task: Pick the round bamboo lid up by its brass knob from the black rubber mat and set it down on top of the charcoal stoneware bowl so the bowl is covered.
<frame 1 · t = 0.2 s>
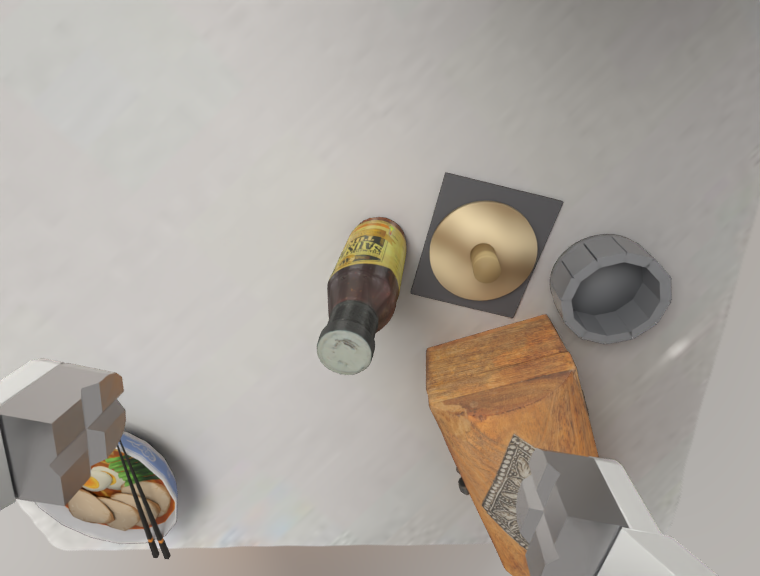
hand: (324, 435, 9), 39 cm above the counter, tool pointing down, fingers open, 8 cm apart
wooden box: (514, 417, 59), on the counter
bowl: (598, 277, 48), on the counter
lid: (481, 250, 47), resting on mat
ramen bowl: (129, 451, 69), on the counter
mat: (481, 249, 48), on the counter
sauce bottle: (377, 241, 49), on the counter
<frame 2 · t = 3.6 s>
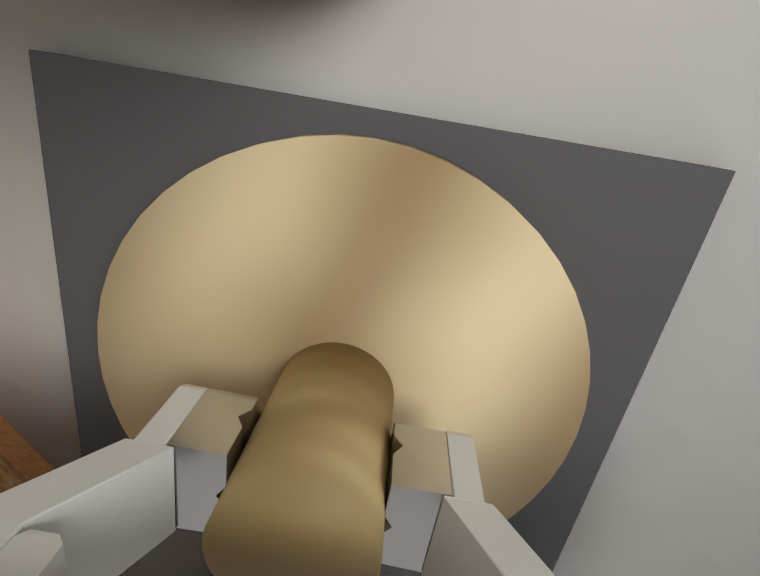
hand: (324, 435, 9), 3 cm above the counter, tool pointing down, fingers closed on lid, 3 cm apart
lid: (343, 368, 11), resting on mat, touching gripper
mat: (344, 360, 11), on the counter
when the fingers open (8 cm above the counter, at t = 8.1 s): lid stays where it is, resting on bowl.
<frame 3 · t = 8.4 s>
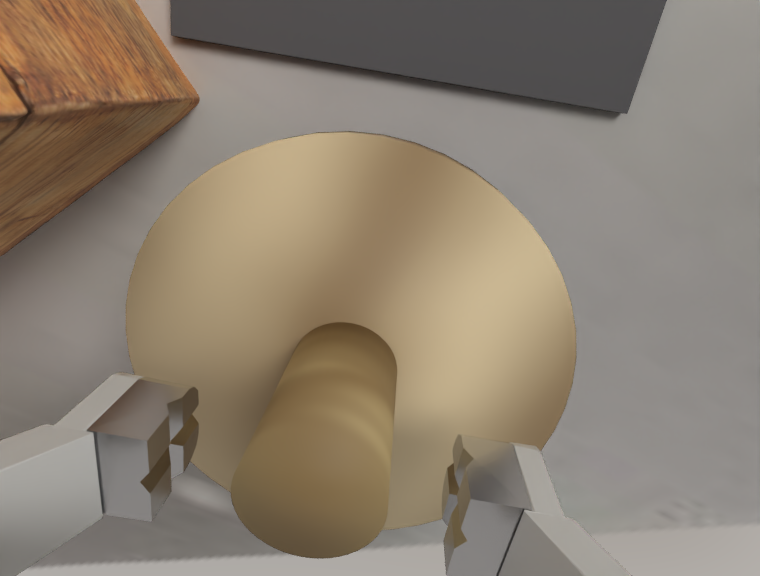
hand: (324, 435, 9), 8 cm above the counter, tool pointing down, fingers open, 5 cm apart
lid: (349, 349, 12), point 5 cm above the counter, touching bowl
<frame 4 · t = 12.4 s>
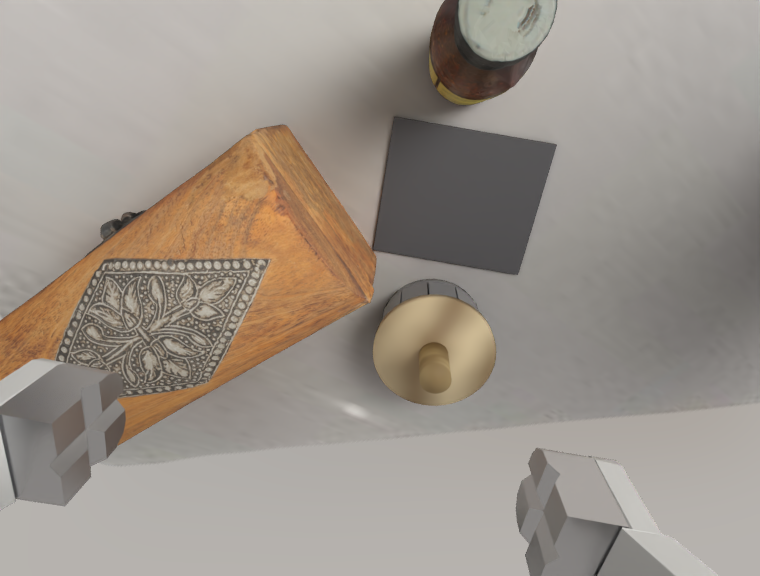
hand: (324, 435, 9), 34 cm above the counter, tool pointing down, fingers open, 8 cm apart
wooden box: (217, 268, 45), on the counter
bowl: (430, 324, 46), on the counter
lid: (433, 349, 41), point 5 cm above the counter, touching bowl
mat: (459, 199, 41), on the counter
sauce bottle: (464, 62, 37), on the counter
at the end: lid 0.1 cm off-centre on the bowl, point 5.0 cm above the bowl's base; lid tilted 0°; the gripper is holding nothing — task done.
